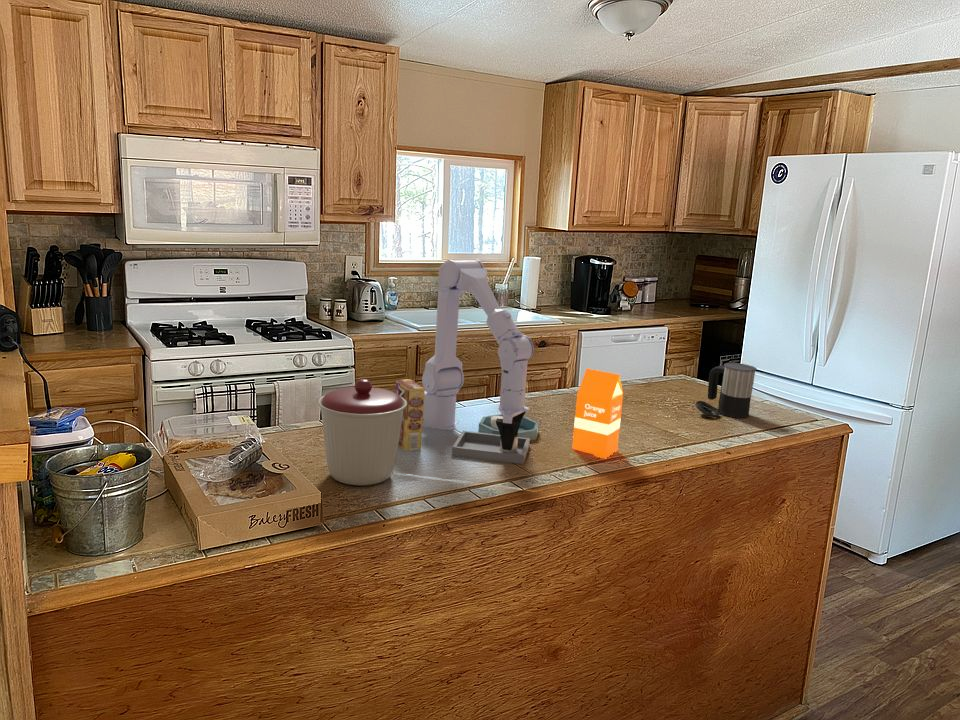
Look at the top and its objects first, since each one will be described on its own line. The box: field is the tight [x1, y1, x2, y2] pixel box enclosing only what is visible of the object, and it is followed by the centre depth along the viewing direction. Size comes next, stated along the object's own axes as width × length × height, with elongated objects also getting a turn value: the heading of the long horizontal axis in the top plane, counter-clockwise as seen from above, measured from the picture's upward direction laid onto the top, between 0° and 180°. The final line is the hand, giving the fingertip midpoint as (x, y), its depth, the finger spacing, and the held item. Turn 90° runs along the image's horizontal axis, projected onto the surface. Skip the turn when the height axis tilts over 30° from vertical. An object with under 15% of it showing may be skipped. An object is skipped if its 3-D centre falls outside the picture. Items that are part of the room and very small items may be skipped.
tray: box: [451, 430, 531, 465], centre depth 173 cm, size 17×13×2 cm
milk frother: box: [695, 362, 758, 419], centre depth 217 cm, size 14×16×15 cm
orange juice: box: [571, 368, 624, 460], centre depth 177 cm, size 8×9×20 cm
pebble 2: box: [500, 437, 518, 453], centre depth 172 cm, size 4×4×4 cm
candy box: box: [395, 378, 426, 451], centre depth 173 cm, size 9×4×15 cm, turn 26°
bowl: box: [477, 413, 540, 442], centre depth 187 cm, size 15×15×3 cm
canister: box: [317, 378, 407, 486], centre depth 152 cm, size 18×18×21 cm
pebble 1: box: [490, 416, 503, 430], centre depth 187 cm, size 4×4×4 cm
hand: (509, 444), depth 172 cm, fingers open, 7 cm apart
